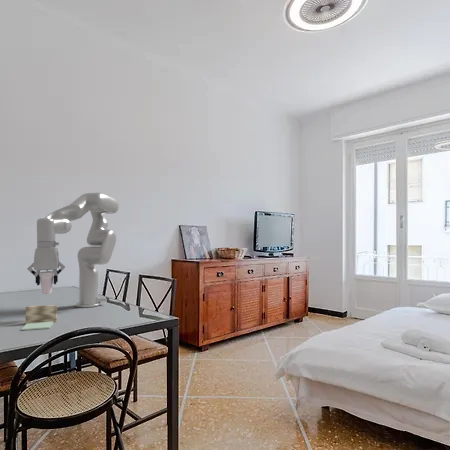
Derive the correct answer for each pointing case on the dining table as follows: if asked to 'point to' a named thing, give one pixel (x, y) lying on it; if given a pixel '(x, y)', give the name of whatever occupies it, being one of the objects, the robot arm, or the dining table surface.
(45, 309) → the screen
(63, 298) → the dining table surface
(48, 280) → the smoothie
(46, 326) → the mat
